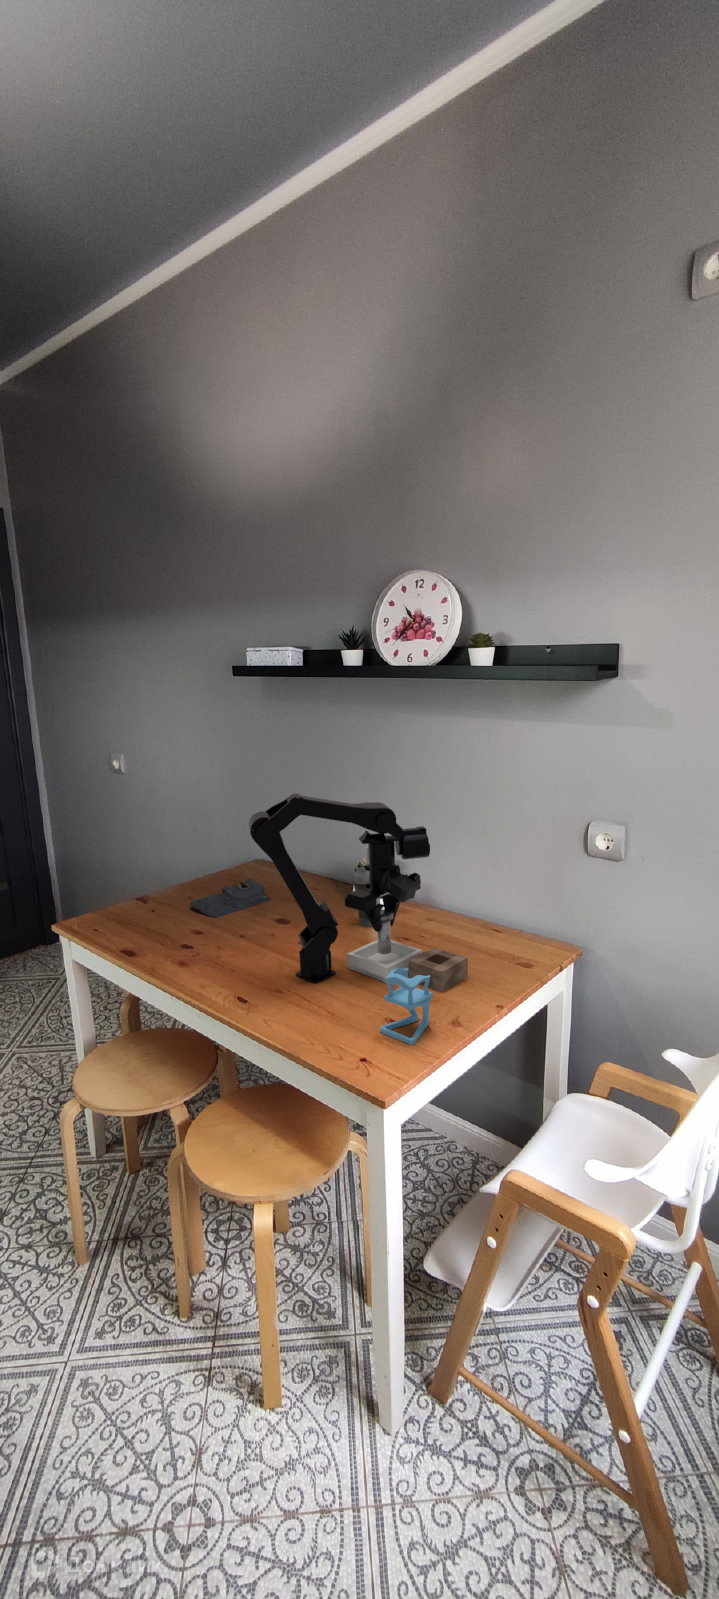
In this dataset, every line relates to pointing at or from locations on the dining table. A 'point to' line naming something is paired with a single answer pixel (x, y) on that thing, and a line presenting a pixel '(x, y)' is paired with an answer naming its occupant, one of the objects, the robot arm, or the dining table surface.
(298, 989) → the dining table surface
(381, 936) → the lock pin
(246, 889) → the grey stepped plate
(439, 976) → the block
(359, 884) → the beverage cup
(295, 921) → the dining table surface
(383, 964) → the tray
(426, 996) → the chair
